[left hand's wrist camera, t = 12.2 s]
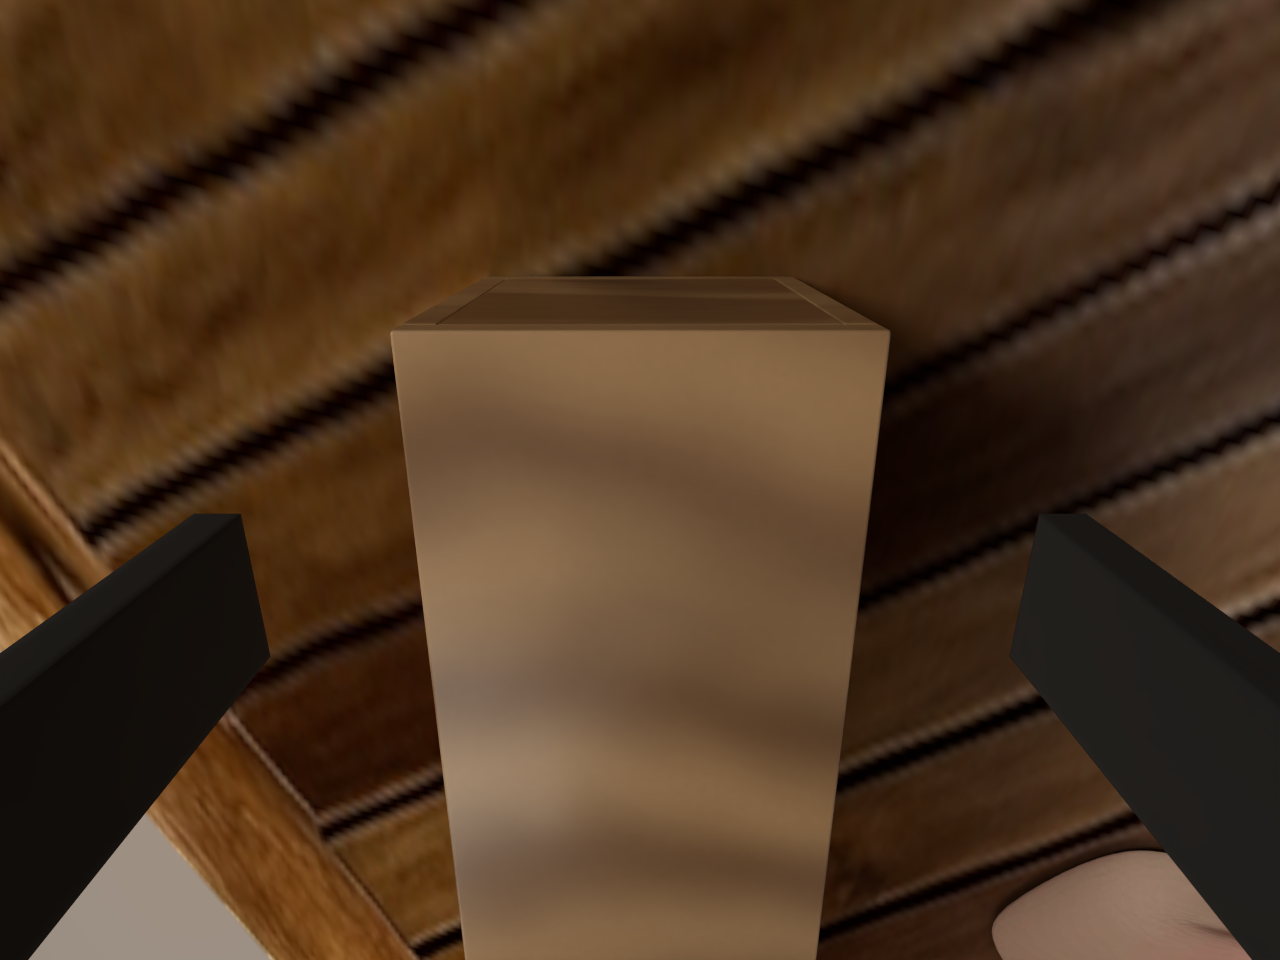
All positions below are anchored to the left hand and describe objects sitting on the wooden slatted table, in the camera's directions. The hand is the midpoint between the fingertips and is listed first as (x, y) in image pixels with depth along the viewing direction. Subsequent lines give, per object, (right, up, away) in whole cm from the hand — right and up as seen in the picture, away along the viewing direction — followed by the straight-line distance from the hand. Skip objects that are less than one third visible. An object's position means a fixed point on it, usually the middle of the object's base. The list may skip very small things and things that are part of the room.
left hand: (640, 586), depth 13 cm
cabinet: (0, 0, +17) cm, 17 cm away
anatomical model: (+24, -21, +25) cm, 40 cm away
